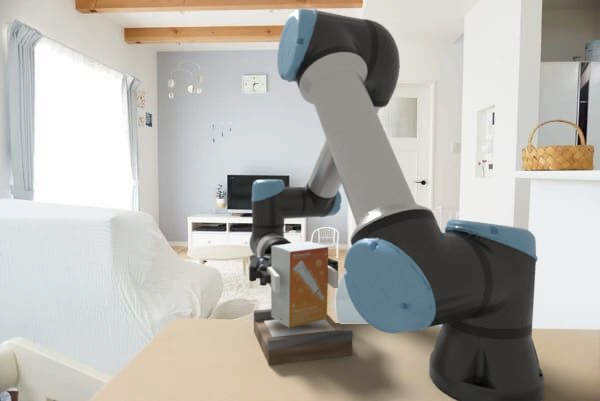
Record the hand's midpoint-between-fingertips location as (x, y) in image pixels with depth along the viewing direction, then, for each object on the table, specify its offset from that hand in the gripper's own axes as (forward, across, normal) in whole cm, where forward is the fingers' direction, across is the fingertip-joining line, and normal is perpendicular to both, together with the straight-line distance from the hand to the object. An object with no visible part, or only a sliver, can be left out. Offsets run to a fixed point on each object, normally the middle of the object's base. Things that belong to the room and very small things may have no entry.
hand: (307, 282), depth 69 cm
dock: (-4, 0, -12) cm, 13 cm away
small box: (-5, 0, -8) cm, 9 cm away
